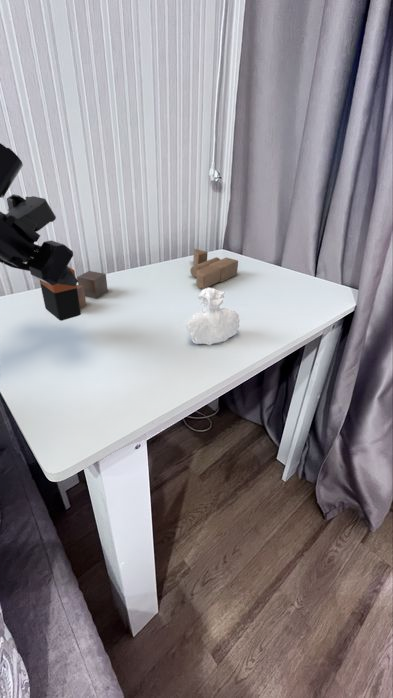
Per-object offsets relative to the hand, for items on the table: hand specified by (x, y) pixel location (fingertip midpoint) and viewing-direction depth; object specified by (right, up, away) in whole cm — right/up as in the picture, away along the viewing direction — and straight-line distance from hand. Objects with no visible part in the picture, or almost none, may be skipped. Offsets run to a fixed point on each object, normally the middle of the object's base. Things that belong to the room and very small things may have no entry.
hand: (64, 278), depth 61 cm
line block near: (-5, -3, +17) cm, 18 cm away
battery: (-1, -6, +3) cm, 7 cm away
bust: (+28, -11, +8) cm, 31 cm away
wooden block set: (+26, +9, +39) cm, 47 cm away
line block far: (-2, +1, +24) cm, 24 cm away
